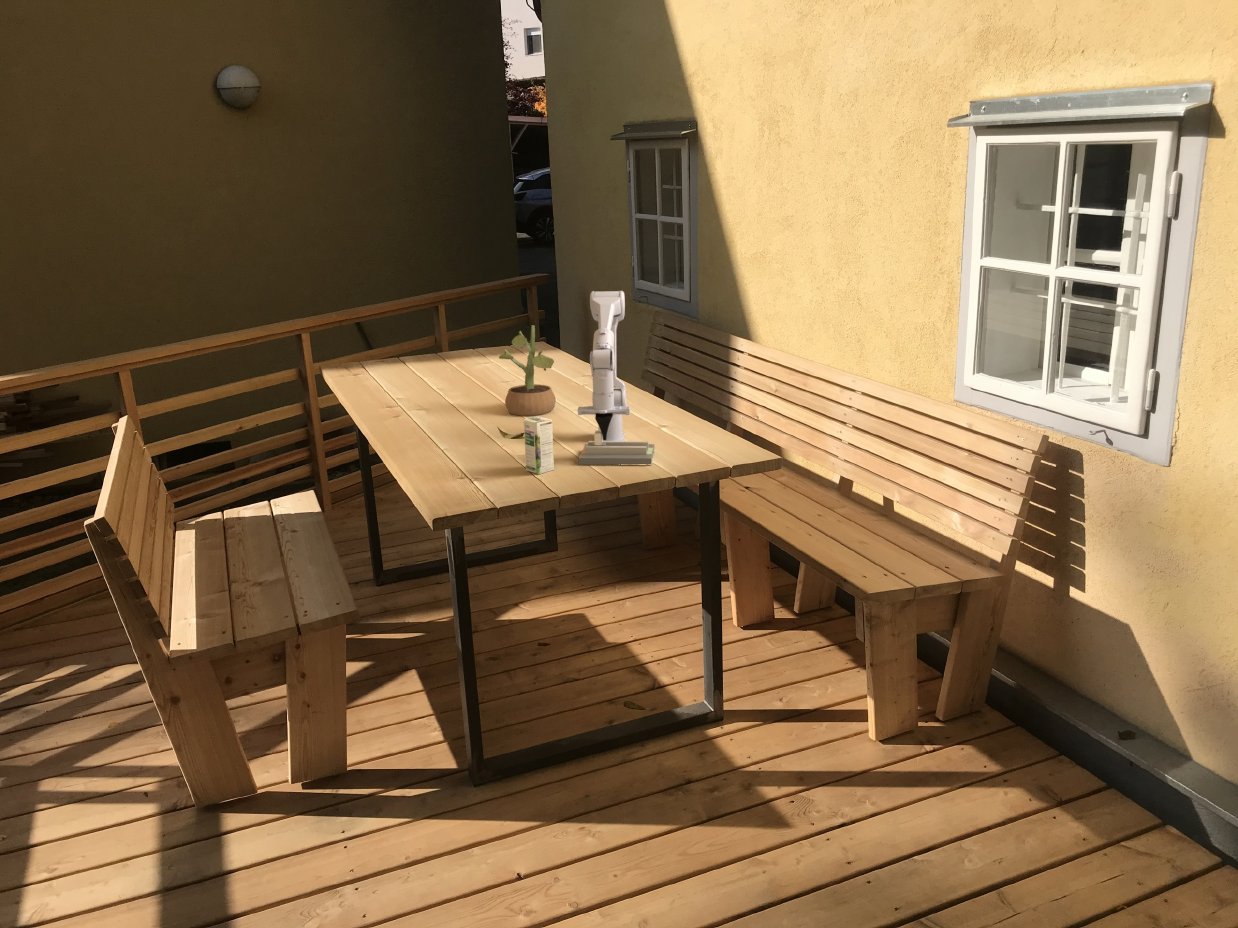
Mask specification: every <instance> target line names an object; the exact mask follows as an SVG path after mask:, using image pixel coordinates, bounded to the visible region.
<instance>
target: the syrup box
mask: <svg viewBox="0 0 1238 928" xmlns="http://www.w3.org/2000/svg"><path fill="white" fill-rule="evenodd" d="M523 429H524V430H523V431H524V432H523V433H524V435H523V436H524V450H525V451H524V453H525V454H524V455H525V456H524V457H525V471H526V472H530V473H533V474H537V475H541V474H545V473H548V472H551V471H554V470H555V466H554V465H555V462H554V459H555V458H554V438H553V437H554V435H553V431H554V430H553V419H550V418H548V417H542V416H541V415H537V416H530V417H528V418H525V419H523Z"/></svg>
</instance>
